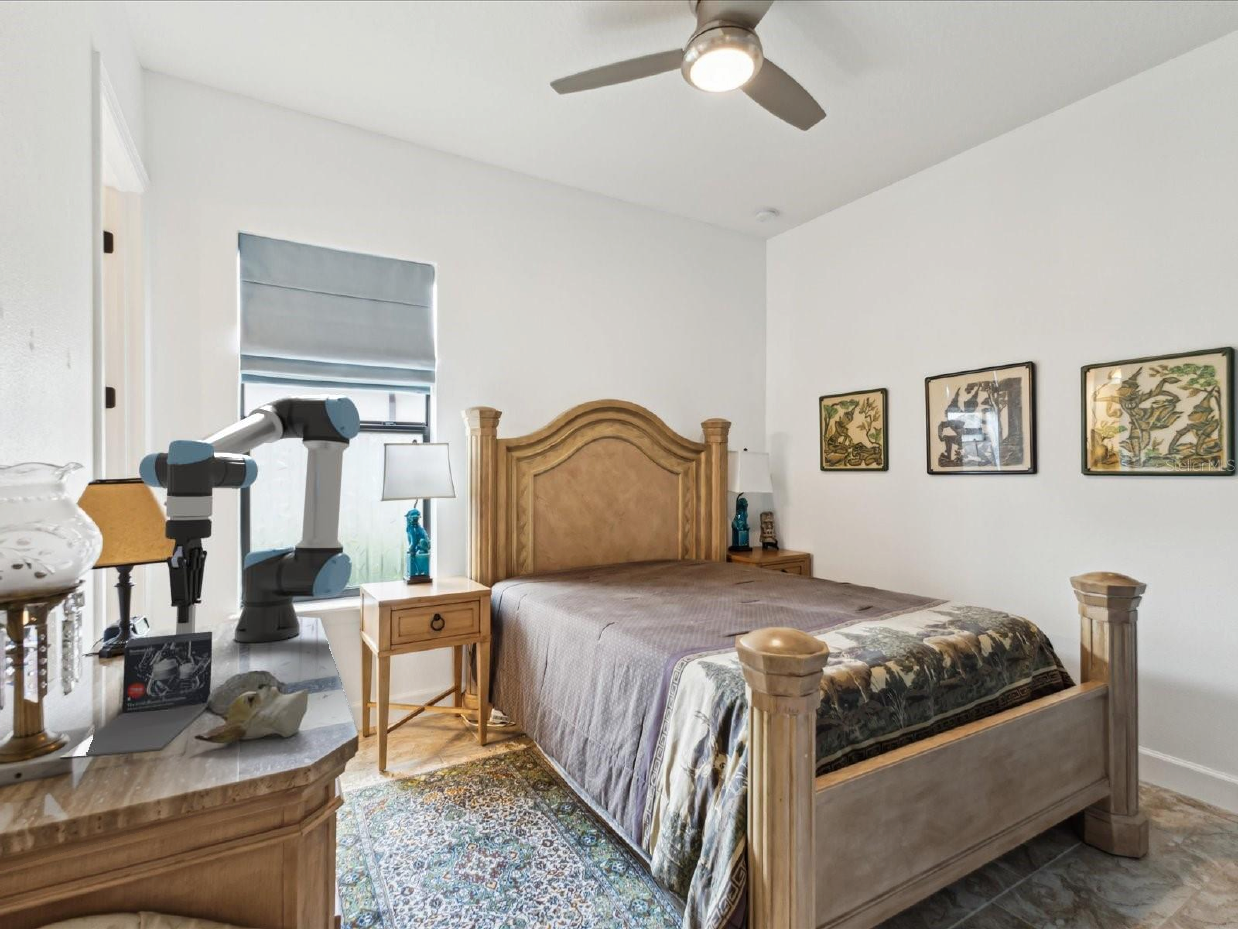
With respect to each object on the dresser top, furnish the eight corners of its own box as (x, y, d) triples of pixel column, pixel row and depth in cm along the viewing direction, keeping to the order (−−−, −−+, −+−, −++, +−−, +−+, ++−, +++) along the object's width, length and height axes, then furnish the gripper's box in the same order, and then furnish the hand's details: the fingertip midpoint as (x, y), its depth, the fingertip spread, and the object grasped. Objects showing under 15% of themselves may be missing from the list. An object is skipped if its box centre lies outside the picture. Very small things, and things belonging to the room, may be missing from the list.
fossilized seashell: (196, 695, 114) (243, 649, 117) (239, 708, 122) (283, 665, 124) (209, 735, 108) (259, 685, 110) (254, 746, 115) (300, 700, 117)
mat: (122, 715, 110) (122, 713, 110) (206, 708, 113) (206, 707, 113) (60, 758, 92) (60, 756, 92) (161, 749, 96) (161, 747, 96)
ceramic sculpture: (297, 689, 97) (190, 700, 95) (299, 745, 97) (192, 758, 94) (317, 670, 108) (222, 679, 105) (319, 721, 108) (223, 732, 105)
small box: (120, 716, 109) (122, 647, 110) (125, 704, 115) (127, 638, 116) (210, 702, 117) (212, 637, 117) (210, 692, 122) (212, 630, 123)
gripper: (181, 516, 129) (177, 632, 128) (151, 520, 117) (147, 648, 116) (222, 516, 131) (219, 630, 130) (197, 519, 119) (193, 646, 118)
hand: (185, 638), depth 123 cm, fingers closed
